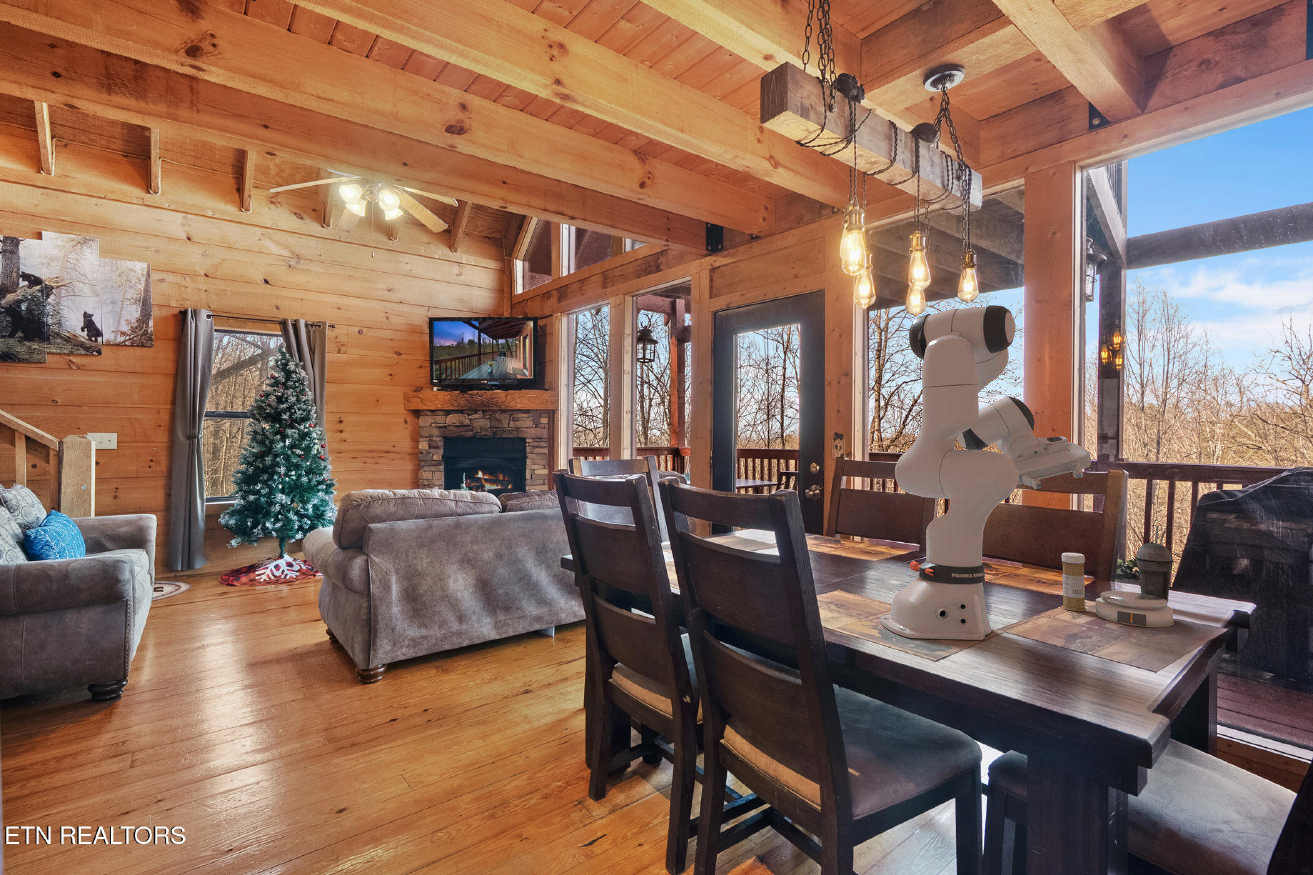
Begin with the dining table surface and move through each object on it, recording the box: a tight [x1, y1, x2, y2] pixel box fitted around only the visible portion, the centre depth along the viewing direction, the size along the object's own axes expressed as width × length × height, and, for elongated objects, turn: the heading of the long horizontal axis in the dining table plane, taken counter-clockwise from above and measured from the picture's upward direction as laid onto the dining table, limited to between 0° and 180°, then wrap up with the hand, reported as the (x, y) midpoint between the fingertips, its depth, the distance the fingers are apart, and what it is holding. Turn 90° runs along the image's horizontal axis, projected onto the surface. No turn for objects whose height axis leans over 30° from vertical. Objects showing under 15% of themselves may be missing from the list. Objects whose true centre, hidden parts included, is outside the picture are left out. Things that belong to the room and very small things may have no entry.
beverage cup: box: [1135, 525, 1175, 604], centre depth 149 cm, size 7×7×20 cm
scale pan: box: [1100, 590, 1168, 609], centre depth 140 cm, size 12×12×1 cm
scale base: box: [1095, 597, 1174, 628], centre depth 140 cm, size 14×14×3 cm
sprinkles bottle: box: [1061, 552, 1086, 613], centre depth 147 cm, size 5×5×14 cm
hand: (1058, 480), depth 147 cm, fingers open, 8 cm apart
